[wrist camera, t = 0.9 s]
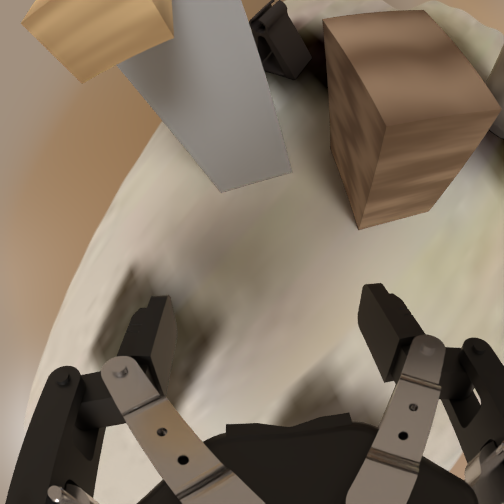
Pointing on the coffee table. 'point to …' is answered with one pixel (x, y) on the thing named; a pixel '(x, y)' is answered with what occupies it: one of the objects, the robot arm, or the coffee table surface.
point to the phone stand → (279, 41)
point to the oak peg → (98, 31)
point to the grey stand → (214, 93)
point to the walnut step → (400, 111)
